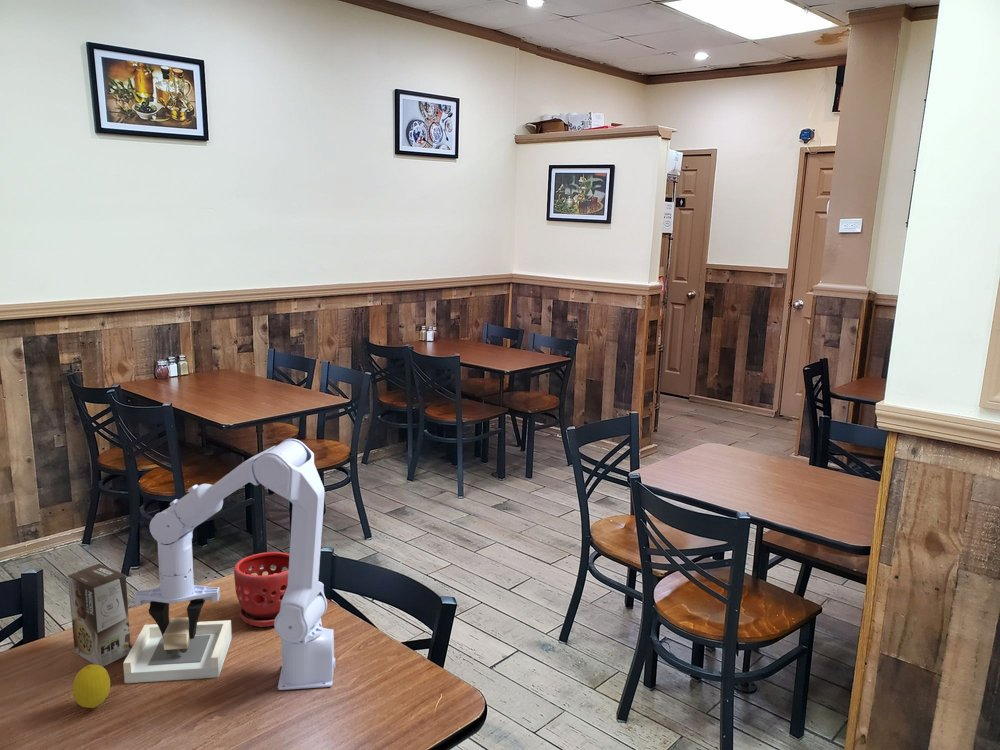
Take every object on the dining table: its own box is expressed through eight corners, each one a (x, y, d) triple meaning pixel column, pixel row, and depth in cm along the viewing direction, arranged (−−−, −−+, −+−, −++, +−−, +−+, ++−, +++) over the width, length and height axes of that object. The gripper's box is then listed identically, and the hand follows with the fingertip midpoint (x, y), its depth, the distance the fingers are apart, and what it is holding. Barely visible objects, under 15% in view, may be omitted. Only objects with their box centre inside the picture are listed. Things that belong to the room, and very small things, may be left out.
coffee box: (133, 653, 142) (127, 574, 139) (99, 669, 136) (93, 588, 133) (105, 637, 147) (100, 561, 143) (72, 652, 141) (66, 574, 138)
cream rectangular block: (194, 636, 143) (193, 616, 142) (187, 654, 137) (186, 633, 136) (172, 638, 142) (171, 617, 141) (164, 655, 136) (163, 634, 135)
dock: (231, 638, 148) (230, 620, 147) (218, 677, 135) (217, 657, 135) (145, 643, 145) (144, 624, 144) (124, 683, 133) (123, 663, 132)
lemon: (103, 693, 130) (100, 651, 128) (117, 707, 126) (114, 664, 125) (69, 708, 125) (65, 665, 124) (83, 722, 122) (79, 679, 120)
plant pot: (312, 615, 158) (312, 562, 155) (257, 639, 148) (255, 583, 146) (278, 594, 166) (277, 544, 164) (223, 615, 156) (221, 562, 154)
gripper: (221, 558, 142) (224, 623, 144) (140, 561, 139) (144, 627, 142) (214, 575, 135) (217, 643, 138) (128, 578, 132) (133, 647, 135)
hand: (179, 636), depth 139 cm, fingers closed on cream rectangular block, 4 cm apart
